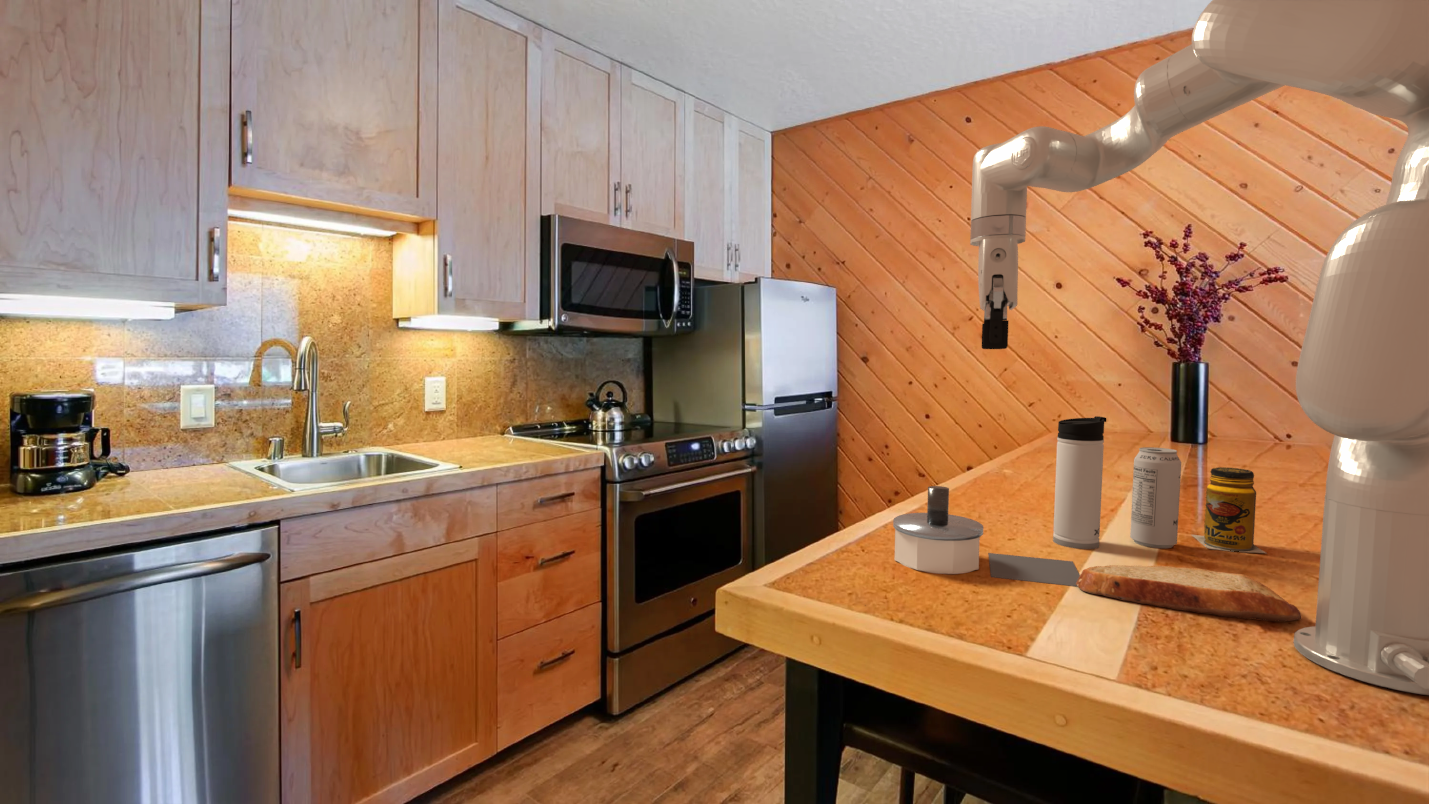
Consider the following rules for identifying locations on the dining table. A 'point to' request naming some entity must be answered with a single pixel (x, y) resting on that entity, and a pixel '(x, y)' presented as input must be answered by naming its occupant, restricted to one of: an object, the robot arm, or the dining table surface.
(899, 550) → the bowl
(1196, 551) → the dining table surface
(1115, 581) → the bread slice
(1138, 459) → the energy drink can
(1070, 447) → the travel mug
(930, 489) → the lid
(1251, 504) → the condiment
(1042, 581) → the mat
